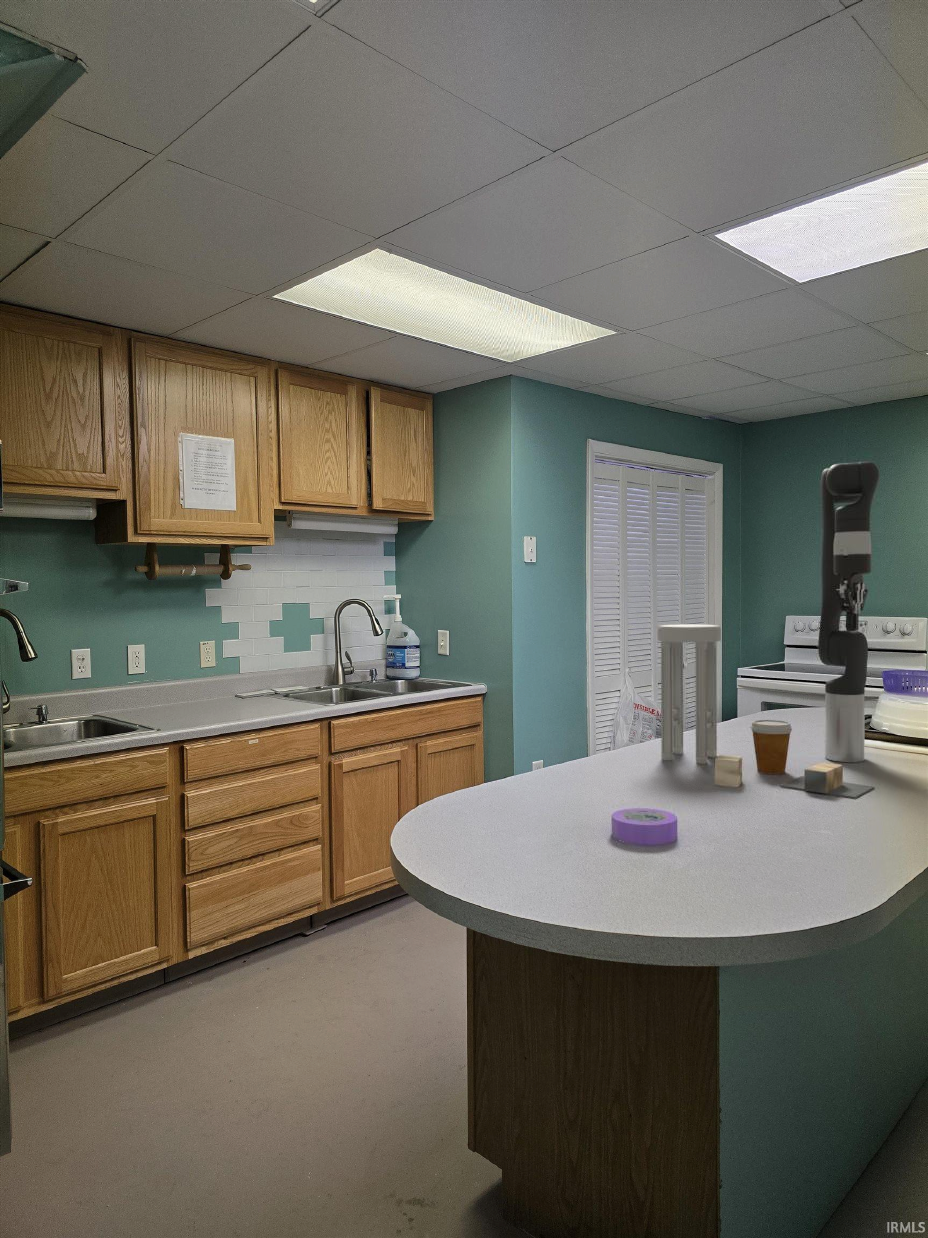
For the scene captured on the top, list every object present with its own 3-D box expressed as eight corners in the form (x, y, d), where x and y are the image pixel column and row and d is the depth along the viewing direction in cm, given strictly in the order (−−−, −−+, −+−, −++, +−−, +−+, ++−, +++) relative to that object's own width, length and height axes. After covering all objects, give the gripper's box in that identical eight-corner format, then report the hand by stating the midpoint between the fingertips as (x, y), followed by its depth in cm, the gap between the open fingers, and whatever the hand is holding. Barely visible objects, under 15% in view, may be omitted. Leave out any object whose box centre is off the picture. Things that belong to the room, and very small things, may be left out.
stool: (726, 755, 218) (726, 624, 217) (710, 766, 205) (710, 627, 204) (669, 750, 226) (669, 624, 225) (651, 760, 213) (650, 626, 212)
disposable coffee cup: (785, 767, 203) (785, 719, 202) (797, 776, 193) (797, 725, 193) (746, 767, 204) (746, 719, 203) (756, 775, 194) (755, 725, 194)
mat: (801, 777, 192) (801, 775, 192) (874, 788, 180) (874, 786, 180) (780, 786, 183) (780, 785, 183) (855, 798, 172) (855, 796, 172)
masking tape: (599, 831, 152) (599, 811, 152) (653, 824, 156) (653, 804, 156) (634, 850, 141) (634, 828, 141) (690, 842, 145) (690, 820, 145)
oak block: (804, 789, 178) (822, 781, 186) (825, 793, 175) (842, 784, 182) (804, 769, 178) (822, 762, 185) (825, 772, 175) (842, 765, 182)
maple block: (719, 780, 190) (719, 754, 190) (742, 782, 188) (742, 756, 188) (715, 785, 186) (715, 758, 186) (738, 787, 183) (737, 760, 183)
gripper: (845, 554, 189) (845, 629, 189) (823, 553, 179) (823, 631, 180) (880, 552, 183) (880, 630, 184) (859, 551, 174) (858, 632, 175)
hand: (852, 630), depth 182 cm, fingers closed
